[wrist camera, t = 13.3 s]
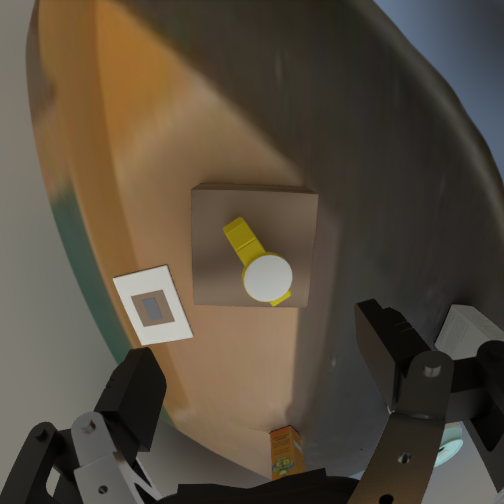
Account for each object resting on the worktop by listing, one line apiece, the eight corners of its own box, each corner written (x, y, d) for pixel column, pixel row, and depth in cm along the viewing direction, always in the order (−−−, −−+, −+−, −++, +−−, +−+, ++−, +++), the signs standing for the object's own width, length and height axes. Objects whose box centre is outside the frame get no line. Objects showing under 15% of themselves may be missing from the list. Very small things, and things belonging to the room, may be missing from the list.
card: (113, 277, 28) (112, 279, 27) (167, 264, 27) (166, 266, 27) (143, 343, 30) (141, 345, 30) (193, 335, 30) (193, 337, 29)
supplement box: (290, 423, 35) (299, 485, 25) (300, 435, 35) (310, 493, 26) (267, 431, 35) (272, 492, 25) (278, 442, 36) (284, 500, 26)
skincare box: (454, 344, 32) (502, 400, 20) (431, 344, 31) (480, 407, 20) (472, 303, 30) (530, 353, 18) (449, 301, 29) (510, 357, 18)
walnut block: (201, 182, 25) (191, 189, 21) (305, 186, 26) (318, 194, 21) (202, 279, 28) (193, 304, 23) (297, 282, 28) (306, 307, 24)
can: (378, 413, 35) (406, 478, 23) (397, 376, 33) (435, 444, 21) (416, 407, 35) (448, 465, 24) (437, 372, 33) (477, 430, 22)
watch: (212, 227, 21) (214, 245, 15) (245, 206, 21) (259, 216, 15) (256, 293, 23) (272, 330, 17) (286, 273, 23) (313, 304, 17)
